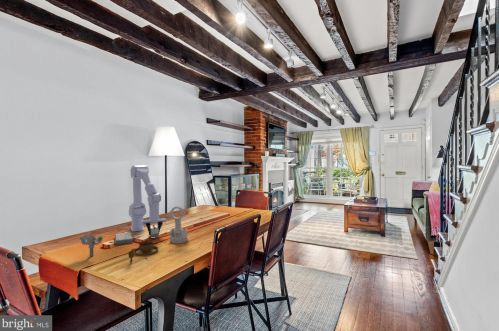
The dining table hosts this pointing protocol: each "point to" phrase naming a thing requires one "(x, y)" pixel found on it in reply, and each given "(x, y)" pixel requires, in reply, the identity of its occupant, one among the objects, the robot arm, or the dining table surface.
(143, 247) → the place setting
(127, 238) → the panel
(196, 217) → the dining table surface
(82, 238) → the mechanical component
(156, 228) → the housing
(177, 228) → the engine component
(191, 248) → the dining table surface
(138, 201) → the robot arm
